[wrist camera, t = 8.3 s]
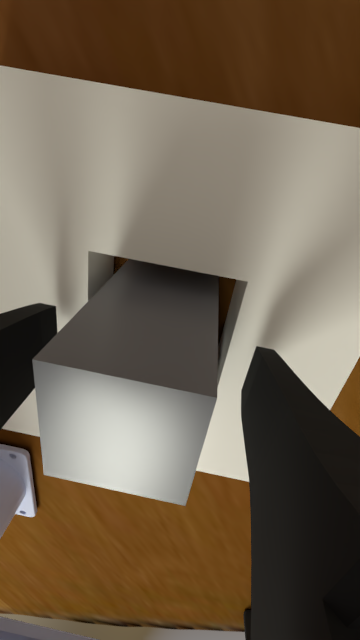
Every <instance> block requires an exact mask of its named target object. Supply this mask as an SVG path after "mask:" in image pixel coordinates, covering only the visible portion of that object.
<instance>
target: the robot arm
mask: <svg viewBox="0 0 360 640" xmlns="http://www.w3.org/2000/svg"><path fill="white" fill-rule="evenodd" d="M56 334H57V316H56V306H53V305H48V304H43V303H36V304H32V305H28V306H24V307H21V308H17V309H14V310H11V311H8V312H4V313H1V314H0V430H1V429H2V427H3V426H4V425H5V423H6V422H7V421H8V420H9V419H10V417H11V416H12V415H13V414H14V413H15V411H16V410H17V409H18V408H19V407H20V405H21V404H22V403H23V402H24V401H25V399H26V398H27V397H28V396H29V395H30V393H31V392H32V391H33V390H34V388H35V382H34V372H33V362H32V359H33V358H34V357H35V356H36V355H37V354H38V353H39V352H40V351H41V350H42V349H43V348H44V347H45V346H46V345H47V344H48V343H49V341H50V340H51V339H52V338H53V337H54V336H55V335H56ZM241 420H242V428H243V436H244V444H245V452H246V459H247V467H248V475H249V485H250V505H251V559H252V567H251V640H360V437H359V436H358V435H357V434H356V433H354V432H353V431H352V430H351V429H350V428H349V427H348V426H346V425H345V424H344V423H343V422H342V421H341V420H340V419H339V418H337V417H336V416H335V415H334V414H333V413H332V412H331V411H330V410H329V409H328V408H327V407H326V406H325V405H324V404H323V403H322V402H321V401H320V400H319V399H318V398H317V397H316V396H315V395H314V394H313V393H312V392H311V391H310V390H309V388H308V387H307V386H306V385H305V384H304V383H303V382H302V381H301V380H300V378H299V377H298V376H297V375H296V374H295V373H294V372H293V370H292V369H291V368H290V367H289V366H288V365H287V364H286V362H285V361H284V360H283V359H282V358H281V357H280V355H279V354H278V353H277V352H276V351H275V350H274V349H269V348H264V347H259V346H256V348H255V351H254V354H253V357H252V360H251V363H250V366H249V369H248V372H247V375H246V378H245V381H244V384H243V387H242V390H241ZM36 513H37V505H36V498H35V491H34V483H33V476H32V468H31V461H30V454H29V452H28V451H27V450H25V449H22V448H18V447H13V446H8V445H4V444H0V538H1V537H2V535H3V533H4V532H5V530H6V528H7V526H8V525H9V523H10V521H11V520H12V518H13V516H14V515H15V514H18V515H23V516H27V517H34V516H35V515H36ZM0 640H98V639H94V638H90V637H85V636H81V635H77V634H73V633H68V632H64V631H59V630H55V629H51V628H47V627H43V626H38V625H34V624H30V623H25V622H21V621H17V620H13V619H8V618H4V617H0Z"/></svg>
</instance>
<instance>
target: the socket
mask: <svg viewBox="0 0 360 640" xmlns="http://www.w3.org/2000/svg"><path fill="white" fill-rule="evenodd" d="M114 256H118V257H123V258H128V259H133V260H138V261H144V262H149V263H154V264H159V265H164V266H169V267H175V268H180V269H185V270H190V271H195V272H201V273H206V274H211V275H216V276H221V277H227V278H232V279H236V283H235V287H234V290H233V294H232V298H231V302H230V305H229V309H228V313H227V317H226V320H225V324H224V328H223V332H222V335H221V339H220V343H219V347H218V379H217V400H216V404H215V407H214V410H213V414H212V417H211V421H210V424H209V427H208V431H207V434H206V437H205V441H204V444H203V448H202V451H201V454H200V458H199V461H198V464H197V468H196V470H197V471H202V472H206V473H211V474H216V475H220V476H225V477H230V478H234V479H239V480H244V481H248V482H249V475H248V467H247V459H246V452H245V444H244V436H243V428H242V420H241V390H242V387H243V384H244V381H245V378H246V375H247V372H248V369H249V366H250V363H251V360H252V357H253V354H254V351H255V348H256V346H259V347H264V348H269V349H274V350H275V351H276V352H277V353H278V354H279V355H280V357H281V358H282V359H283V360H284V361H285V362H286V364H287V365H288V366H289V367H290V368H291V369H292V370H293V372H294V373H295V374H296V375H297V376H298V377H299V378H300V380H301V381H302V382H303V383H304V384H305V385H306V386H307V387H308V388H309V390H310V391H311V392H312V393H313V394H314V395H315V396H316V397H317V398H318V399H319V400H320V401H321V402H322V403H323V404H324V405H325V406H326V407H327V408H328V409H329V410H330V409H331V407H332V406H333V404H334V402H335V400H336V398H337V397H338V395H339V393H340V391H341V389H342V388H343V386H344V384H345V382H346V380H347V379H348V377H349V375H350V373H351V371H352V370H353V368H354V366H355V364H356V362H357V361H358V359H359V357H360V128H357V127H351V126H345V125H340V124H334V123H328V122H322V121H317V120H311V119H305V118H299V117H293V116H288V115H282V114H276V113H270V112H265V111H259V110H253V109H247V108H242V107H236V106H230V105H224V104H219V103H213V102H207V101H201V100H196V99H190V98H184V97H178V96H173V95H167V94H161V93H155V92H150V91H144V90H138V89H132V88H127V87H121V86H115V85H109V84H104V83H98V82H92V81H86V80H81V79H75V78H69V77H63V76H58V75H52V74H46V73H40V72H35V71H29V70H23V69H17V68H12V67H6V66H0V314H1V313H4V312H8V311H11V310H14V309H17V308H21V307H24V306H28V305H32V304H36V303H43V304H48V305H53V306H56V316H57V333H58V332H59V331H60V330H61V329H62V328H63V327H64V326H65V325H66V324H67V323H68V322H69V321H70V320H71V319H72V318H73V317H74V316H75V314H76V313H77V312H78V311H79V310H80V309H81V308H82V307H83V306H84V305H85V304H86V303H87V302H88V301H89V300H90V299H91V298H92V297H93V296H94V295H95V294H96V293H97V292H98V291H99V290H100V288H101V287H102V286H103V285H104V284H105V283H106V282H107V281H108V280H109V279H110V278H111V277H112V276H113V270H114ZM2 429H6V430H10V431H15V432H20V433H24V434H29V435H34V436H38V437H40V431H39V421H38V411H37V401H36V392H35V388H34V390H33V391H32V392H31V393H30V395H29V396H28V397H27V398H26V399H25V401H24V402H23V403H22V404H21V405H20V407H19V408H18V409H17V410H16V411H15V413H14V414H13V415H12V416H11V417H10V419H9V420H8V421H7V422H6V423H5V425H4V426H3V427H2Z"/></svg>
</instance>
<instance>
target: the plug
mask: <svg viewBox="0 0 360 640" xmlns="http://www.w3.org/2000/svg"><path fill="white" fill-rule="evenodd" d="M218 303H219V276H216V275H211V274H206V273H201V272H195V271H190V270H185V269H180V268H175V267H169V266H164V265H159V264H154V263H149V262H144V261H138V260H133V259H128V260H127V261H126V262H125V264H124V265H123V266H122V267H121V268H120V269H119V270H118V271H117V272H116V273H115V274H114V275H113V276H112V277H111V278H110V279H109V280H108V281H107V282H106V283H105V284H104V285H103V286H102V287H101V288H100V290H99V291H98V292H97V293H96V294H95V295H94V296H93V297H92V298H91V299H90V300H89V301H88V302H87V303H86V304H85V305H84V306H83V307H82V308H81V309H80V310H79V311H78V312H77V313H76V314H75V316H74V317H73V318H72V319H71V320H70V321H69V322H68V323H67V324H66V325H65V326H64V327H63V328H62V329H61V330H60V331H59V332H58V333H57V334H56V335H55V336H54V337H53V338H52V339H51V340H50V341H49V343H48V344H47V345H46V346H45V347H44V348H43V349H42V350H41V351H40V352H39V353H38V354H37V355H36V356H35V357H34V358H33V359H32V362H33V372H34V382H35V392H36V401H37V411H38V421H39V431H40V441H41V451H42V461H43V471H44V475H47V476H52V477H57V478H61V479H66V480H70V481H75V482H79V483H84V484H88V485H93V486H98V487H102V488H107V489H111V490H116V491H120V492H125V493H129V494H134V495H139V496H143V497H148V498H152V499H157V500H161V501H166V502H170V503H175V504H180V505H184V506H185V505H186V502H187V498H188V495H189V491H190V488H191V485H192V481H193V478H194V475H195V471H196V468H197V464H198V461H199V458H200V454H201V451H202V448H203V444H204V441H205V437H206V434H207V431H208V427H209V424H210V421H211V417H212V414H213V410H214V407H215V404H216V400H217V379H218Z"/></svg>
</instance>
